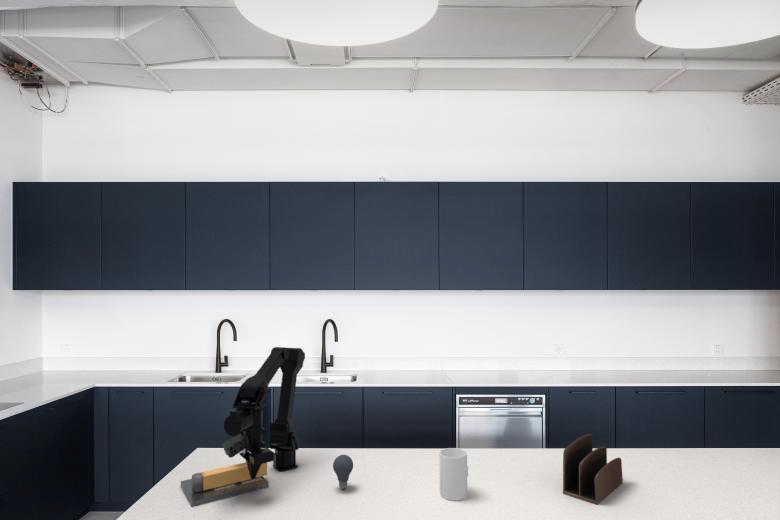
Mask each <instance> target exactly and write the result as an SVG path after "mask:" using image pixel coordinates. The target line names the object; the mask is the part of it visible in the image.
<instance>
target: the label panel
mask: <svg viewBox="0 0 780 520" xmlns="http://www.w3.org/2000/svg"><path fill="white" fill-rule="evenodd" d="M269 484H270V482H269V481H268V480H267V479H266V478H265V476H261V477H257V478H254V479H249V480H244V481H240V482H236V483H232V484H228V485H224V486H220V487H216V488H211V489H207V490H202V491H199V492H193V491H192V478H189V479H185V480H181V481H180V488H181V490H182V491H183V493H184V495H185V496H186V499H187V501H188V503H189V504H190V506H191V507H192V508H193V507H196V506H201V505H204V504H205V505H206V504H209V503H213V502H216V501H220V500H224V498H225V499H228V498H232V497H235V496H240V495H244V494H247V493H251V492H252V493H253V492H255V491H259V489H260V490H263V489H267V488H269V487H270V485H269Z"/></svg>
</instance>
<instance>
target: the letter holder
mask: <svg viewBox="0 0 780 520" xmlns="http://www.w3.org/2000/svg"><path fill="white" fill-rule="evenodd" d="M593 446H594V438H593V434H592V433H586V434H583V435H581V436H580V437H578V438H576V439H575V440H574V441H573V440H572V442H571V443H570V444H568V445H567V446H566V447H565V448H564V450H563V454H562V455H563V456H562V470H563V471H562V494H563V495H566V496H568V497H571V498H575V499H578V500H580V501H584V502H586V503H589V504H592V505H593V504H594V505H598V504H599V503H601V502H602V501H603V500H604V499H606V498H607V497H608V496H609V495H611V494H612V493H613V492H614V491H615V490H616V489H618V487H620V486H621V485H622V484H623V482H624V481H623V467H622V459H621V457H615V458H613V459H611V460H610V461H609V462H608V454H607V453H608V447H606V446H604V445H603V446H600V447H597V448H595V449H594V447H593ZM593 449H594V450H593Z"/></svg>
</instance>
